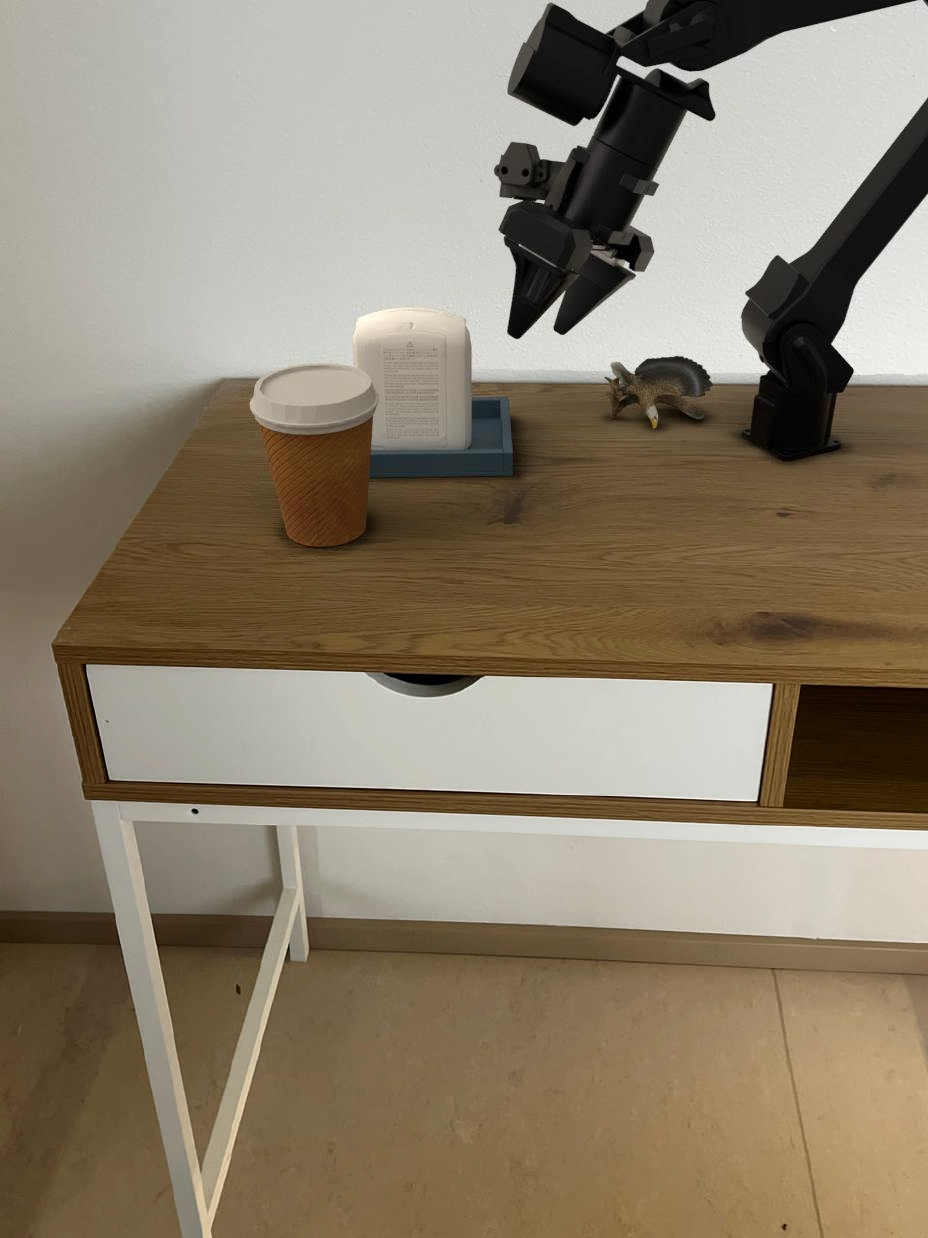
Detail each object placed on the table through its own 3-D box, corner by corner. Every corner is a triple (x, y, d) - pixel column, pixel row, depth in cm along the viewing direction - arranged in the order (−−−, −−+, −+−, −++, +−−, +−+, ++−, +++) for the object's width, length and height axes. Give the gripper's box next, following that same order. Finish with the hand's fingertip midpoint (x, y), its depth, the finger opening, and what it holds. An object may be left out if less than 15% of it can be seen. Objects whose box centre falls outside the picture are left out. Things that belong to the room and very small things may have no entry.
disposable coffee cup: (283, 568, 85) (266, 417, 79) (252, 514, 93) (234, 372, 86) (403, 542, 88) (396, 395, 82) (364, 492, 96) (355, 353, 89)
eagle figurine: (621, 430, 103) (719, 408, 102) (604, 353, 103) (702, 330, 102) (612, 443, 110) (704, 422, 110) (596, 371, 110) (688, 350, 110)
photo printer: (472, 435, 104) (471, 300, 98) (472, 454, 101) (471, 316, 94) (360, 436, 104) (351, 301, 98) (356, 455, 101) (346, 317, 94)
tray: (508, 418, 108) (508, 396, 107) (512, 475, 98) (513, 452, 97) (323, 420, 109) (321, 398, 107) (307, 478, 98) (305, 454, 97)
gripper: (586, 120, 98) (508, 287, 105) (488, 88, 82) (404, 287, 90) (694, 180, 95) (606, 347, 102) (615, 158, 79) (517, 359, 87)
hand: (536, 334), depth 95 cm, fingers open, 9 cm apart
